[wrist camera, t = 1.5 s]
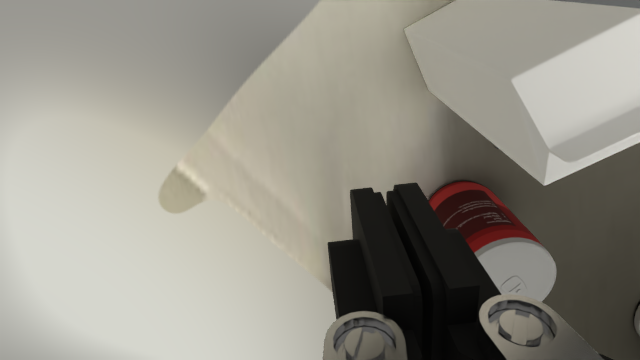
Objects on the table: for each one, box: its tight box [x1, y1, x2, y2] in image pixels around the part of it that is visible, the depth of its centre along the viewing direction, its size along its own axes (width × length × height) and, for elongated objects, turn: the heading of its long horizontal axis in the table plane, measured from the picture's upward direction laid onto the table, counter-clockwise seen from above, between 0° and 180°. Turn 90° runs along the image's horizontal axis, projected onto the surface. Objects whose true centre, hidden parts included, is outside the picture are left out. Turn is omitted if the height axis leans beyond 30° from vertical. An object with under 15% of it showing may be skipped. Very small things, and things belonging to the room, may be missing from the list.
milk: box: [404, 0, 640, 186], centre depth 25 cm, size 6×6×22 cm
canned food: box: [429, 181, 557, 302], centre depth 38 cm, size 8×8×11 cm
